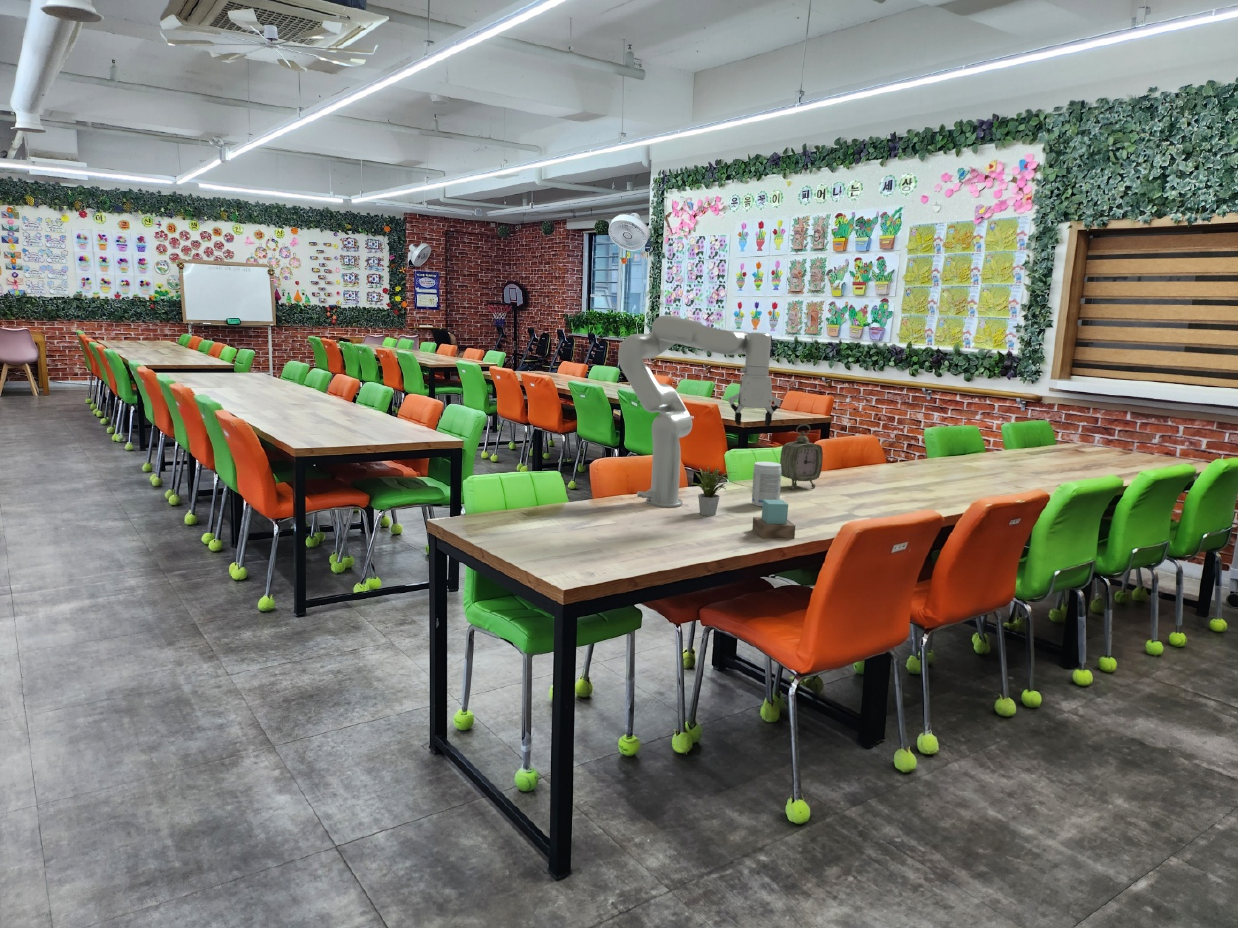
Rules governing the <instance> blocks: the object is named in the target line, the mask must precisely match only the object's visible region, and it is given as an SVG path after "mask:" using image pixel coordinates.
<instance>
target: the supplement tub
mask: <svg viewBox="0 0 1238 928" xmlns="http://www.w3.org/2000/svg"><path fill="white" fill-rule="evenodd" d="M753 464H754V465H753V473H752V475H753V476H752V490H751V491H752V493H751V494H752V495H751V502H752V504H753V505H754V506H757V507H760V508H761V507H762V505H763V500H781V499H780V497H781V481H782V474H781V464H780V462H773V461H755V462H754V463H753Z"/></svg>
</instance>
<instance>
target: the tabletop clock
mask: <svg viewBox="0 0 1238 928" xmlns="http://www.w3.org/2000/svg"><path fill="white" fill-rule="evenodd" d="M804 426H805V427H807V428H808V431H807V432H805V431H801V432H798V429H799V428H800V427H804ZM795 431H796V432H795V433H797V434H798V436H797V437H796V438H795V441H789V442H787V443H785V444H783V445H782V447H781V451H780V457H779V464H781V477H784V478H786V479H791V485H790V486H789V488H790V490H794V489H795V487H797V485H798V483H797V482H810V484H811V486H810V487H811V488H812V489H815V487H816V484H815V483H814V482H813V481H816V480H818V478H820V475H821V473H822V467H823V458H824V457H823V456H824V453H823V447H822V445H820V444H817V443H813V442H810V440H809V438H808V436H807V435H808V434H810V432H811V426H810V425H809V424H806V423H802V424H799V425H798V426H797V427H796V429H795Z"/></svg>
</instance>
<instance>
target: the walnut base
mask: <svg viewBox="0 0 1238 928" xmlns="http://www.w3.org/2000/svg"><path fill="white" fill-rule="evenodd" d="M751 530H752V531H753V532H754V533H755V534H756V535H757V536H759V537H760V538H761V539H765V538H794V539H795V536H796V525H795V524H794V523H793V522H791V521H790V520H788V519H787V524H767V523H766V522H765V521H764V520H762V516H760V517H758V516H755V517H752V529H751Z"/></svg>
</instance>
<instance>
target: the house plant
mask: <svg viewBox="0 0 1238 928" xmlns="http://www.w3.org/2000/svg"><path fill="white" fill-rule="evenodd" d="M699 471H700V474H698V473H697V472H696V471H693V473H695V474H696V476H697V478H698V479H699V480H700V482H701V483H696V482H691V483H690V485H694V486H697V487H699V488H700V489H701V490H702V491H703V493H699V494H698V495H697V496H698V506H699V514H700V515H701V514H702V516H706V517H712V516H713V517H714V516H716V514H717V511H718V506H719V501H720V499H721V498H720V494H716V493H718V491H720V490H721V489H724V490H727V489H726V488H727V486H725V484H726V482H724V483H720V482H721V480H725V479H727V477H726V476H728V475H729V474H731V473H733V471H731V472H726V473H723V474H722V475H719V472H720V471H721V468H720V469H718V466H716V467H715V469H714V471H713V472H712V474H711V471H710V467H709V466H707V470H705V471H704V470H703V469H702V468H701V467H699Z"/></svg>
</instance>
